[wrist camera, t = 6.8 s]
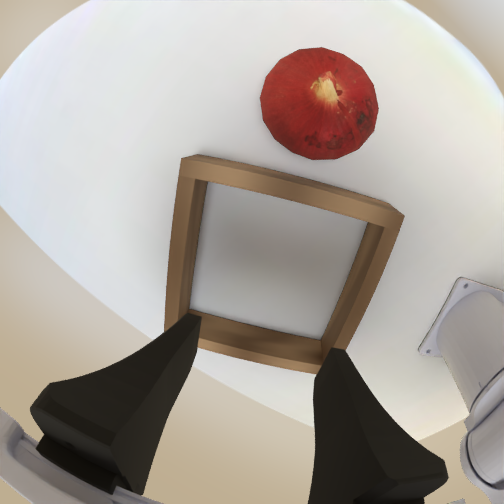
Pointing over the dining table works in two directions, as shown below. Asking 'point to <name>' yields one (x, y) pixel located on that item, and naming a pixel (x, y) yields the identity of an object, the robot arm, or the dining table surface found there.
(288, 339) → the box
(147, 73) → the dining table surface
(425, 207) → the dining table surface
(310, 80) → the onion
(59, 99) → the dining table surface
